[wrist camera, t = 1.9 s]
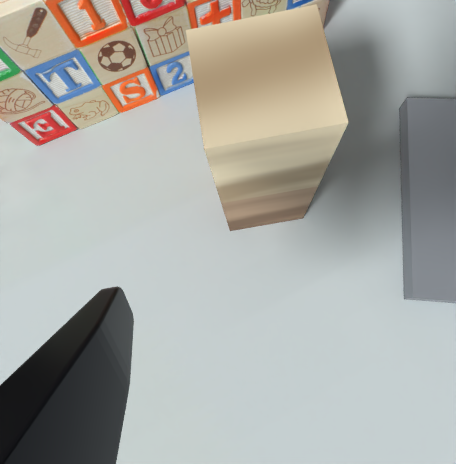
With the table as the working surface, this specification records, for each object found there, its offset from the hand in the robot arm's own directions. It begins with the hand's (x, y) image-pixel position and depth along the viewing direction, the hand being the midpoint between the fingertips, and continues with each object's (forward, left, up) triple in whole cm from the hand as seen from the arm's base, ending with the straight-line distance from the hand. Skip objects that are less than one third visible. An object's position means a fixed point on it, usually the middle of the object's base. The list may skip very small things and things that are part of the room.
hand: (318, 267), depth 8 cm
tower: (+6, +2, -13) cm, 15 cm away
